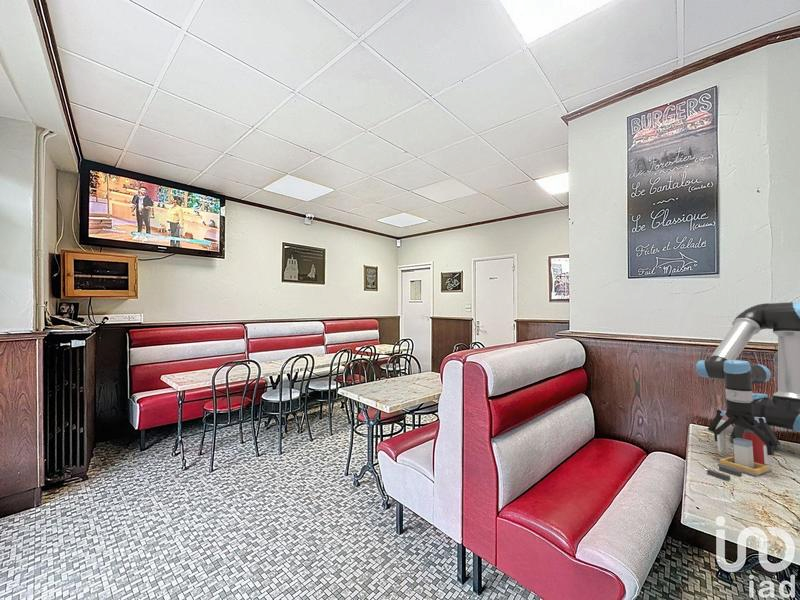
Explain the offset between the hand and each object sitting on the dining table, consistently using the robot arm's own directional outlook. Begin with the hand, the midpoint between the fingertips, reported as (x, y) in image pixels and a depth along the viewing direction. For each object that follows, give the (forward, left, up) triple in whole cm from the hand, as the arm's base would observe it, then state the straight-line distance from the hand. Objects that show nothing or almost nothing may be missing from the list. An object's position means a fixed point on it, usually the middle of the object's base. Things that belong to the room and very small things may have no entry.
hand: (743, 457), depth 131 cm
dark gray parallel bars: (+14, 0, -4) cm, 15 cm away
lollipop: (-8, -9, -4) cm, 13 cm away
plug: (0, 0, -4) cm, 4 cm away
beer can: (-12, -1, -4) cm, 13 cm away
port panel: (0, 0, -4) cm, 4 cm away
